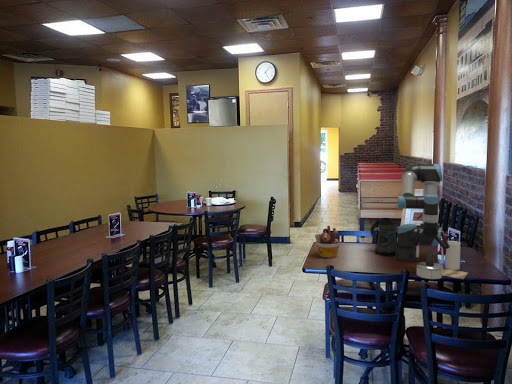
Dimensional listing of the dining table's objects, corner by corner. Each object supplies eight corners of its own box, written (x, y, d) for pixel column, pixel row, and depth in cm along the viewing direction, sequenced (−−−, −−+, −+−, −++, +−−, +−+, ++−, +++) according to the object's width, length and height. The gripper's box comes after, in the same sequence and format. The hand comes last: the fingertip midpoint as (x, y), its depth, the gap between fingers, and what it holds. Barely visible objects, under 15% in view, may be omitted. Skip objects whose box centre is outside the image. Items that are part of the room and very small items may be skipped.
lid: (413, 267, 231) (413, 254, 231) (420, 262, 242) (420, 249, 242) (439, 272, 223) (439, 257, 222) (445, 266, 234) (446, 252, 233)
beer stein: (401, 256, 275) (402, 220, 272) (372, 256, 278) (372, 220, 275) (397, 251, 291) (397, 216, 289) (369, 250, 294) (369, 216, 292)
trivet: (436, 275, 234) (436, 274, 234) (442, 269, 245) (442, 268, 244) (463, 279, 225) (463, 278, 225) (468, 273, 236) (468, 272, 236)
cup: (455, 266, 251) (455, 240, 249) (462, 269, 243) (463, 243, 241) (442, 266, 251) (442, 241, 249) (448, 270, 243) (449, 244, 241)
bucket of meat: (338, 260, 269) (338, 230, 267) (313, 259, 274) (313, 230, 272) (341, 253, 288) (341, 225, 286) (318, 252, 293) (317, 224, 291)
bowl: (414, 276, 232) (414, 267, 232) (421, 270, 242) (421, 262, 242) (438, 280, 224) (438, 271, 224) (444, 274, 234) (444, 266, 234)
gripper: (406, 220, 235) (405, 256, 237) (453, 224, 219) (452, 263, 221) (410, 219, 241) (409, 254, 242) (456, 222, 225) (455, 260, 227)
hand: (429, 258), depth 232 cm, fingers open, 13 cm apart
